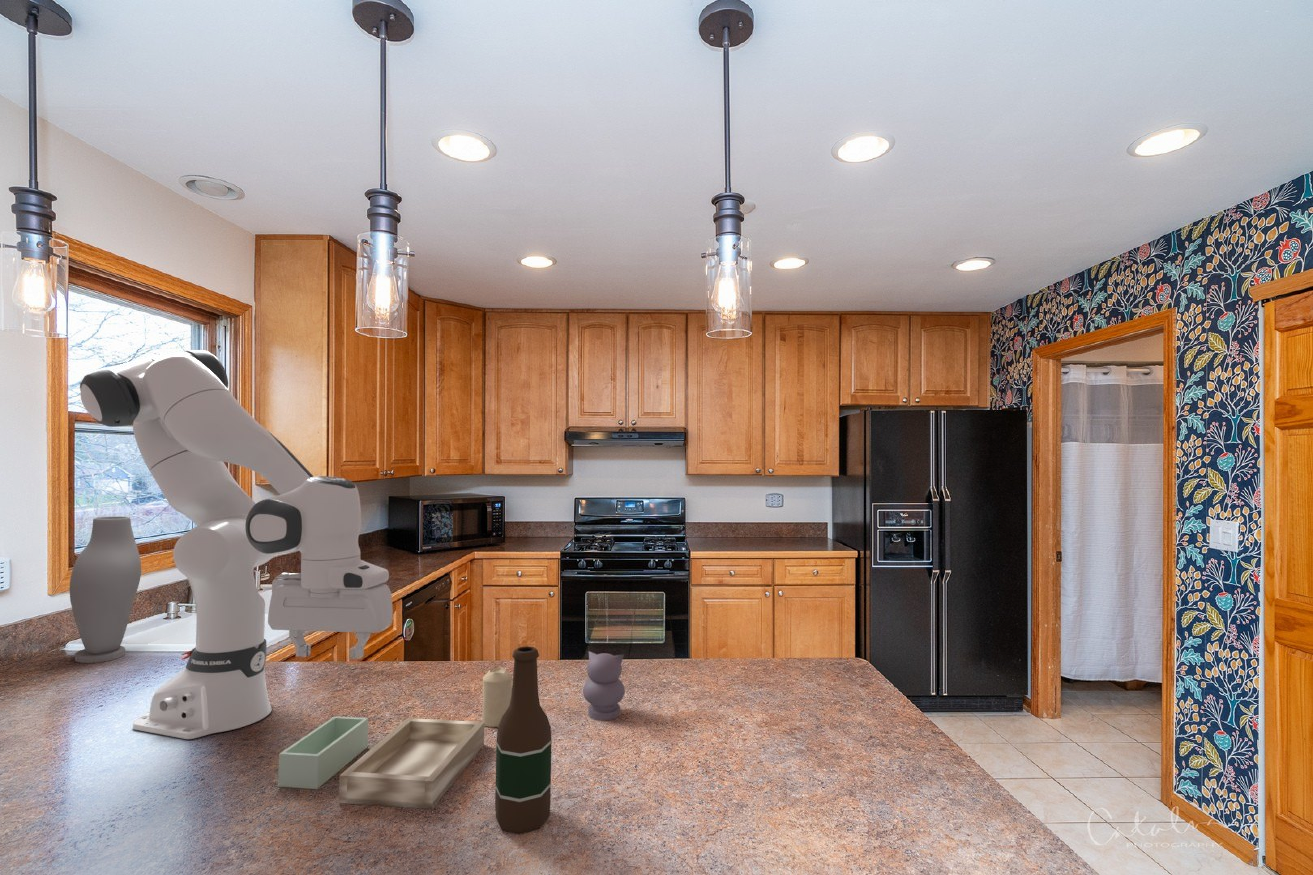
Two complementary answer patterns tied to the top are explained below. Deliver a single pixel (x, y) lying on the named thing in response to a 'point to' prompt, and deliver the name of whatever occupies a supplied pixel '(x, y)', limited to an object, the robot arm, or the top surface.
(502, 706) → the candle
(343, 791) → the box
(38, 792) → the top surface
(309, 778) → the green crate
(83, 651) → the vase
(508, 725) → the beer bottle
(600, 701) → the cat figurine
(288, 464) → the robot arm
